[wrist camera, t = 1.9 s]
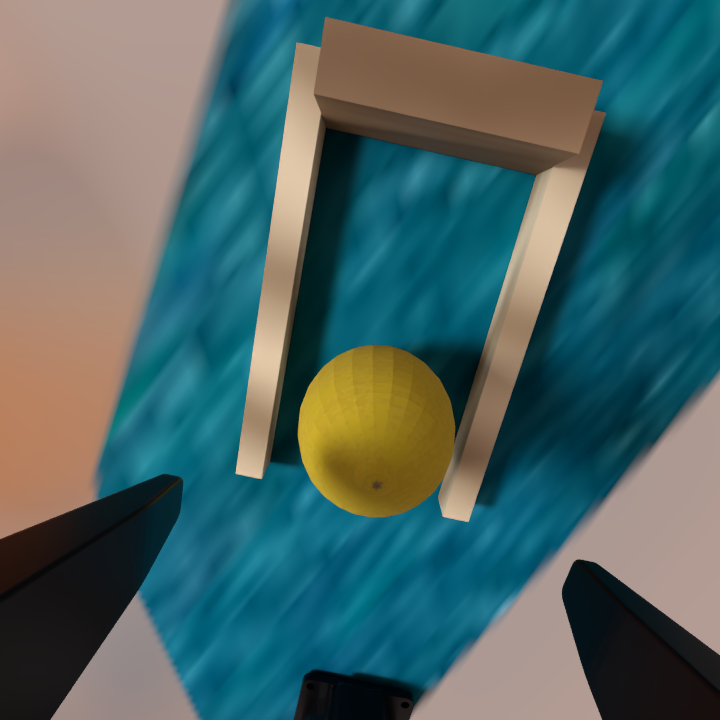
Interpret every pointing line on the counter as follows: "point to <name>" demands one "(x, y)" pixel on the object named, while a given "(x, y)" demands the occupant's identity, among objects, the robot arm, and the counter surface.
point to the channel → (441, 135)
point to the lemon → (376, 431)
